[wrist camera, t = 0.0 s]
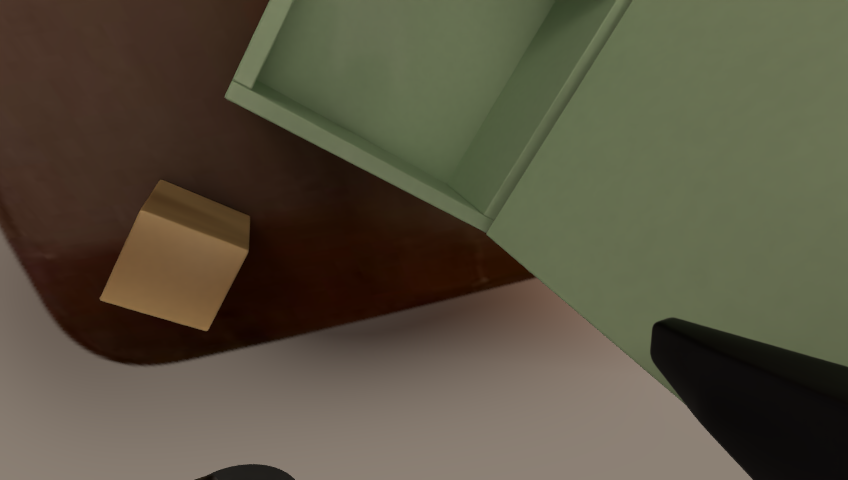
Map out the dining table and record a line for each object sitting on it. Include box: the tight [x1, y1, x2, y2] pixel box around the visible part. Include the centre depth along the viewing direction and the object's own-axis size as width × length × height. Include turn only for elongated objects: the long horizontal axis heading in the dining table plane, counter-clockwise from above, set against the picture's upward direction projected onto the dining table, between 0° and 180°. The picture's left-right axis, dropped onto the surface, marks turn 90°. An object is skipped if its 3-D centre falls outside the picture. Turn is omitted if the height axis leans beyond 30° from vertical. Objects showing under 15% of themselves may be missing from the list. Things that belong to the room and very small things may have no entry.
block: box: [100, 180, 250, 331], centre depth 22 cm, size 4×4×4 cm
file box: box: [225, 0, 633, 232], centre depth 21 cm, size 12×12×6 cm
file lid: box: [486, 0, 848, 405], centre depth 15 cm, size 13×12×1 cm
